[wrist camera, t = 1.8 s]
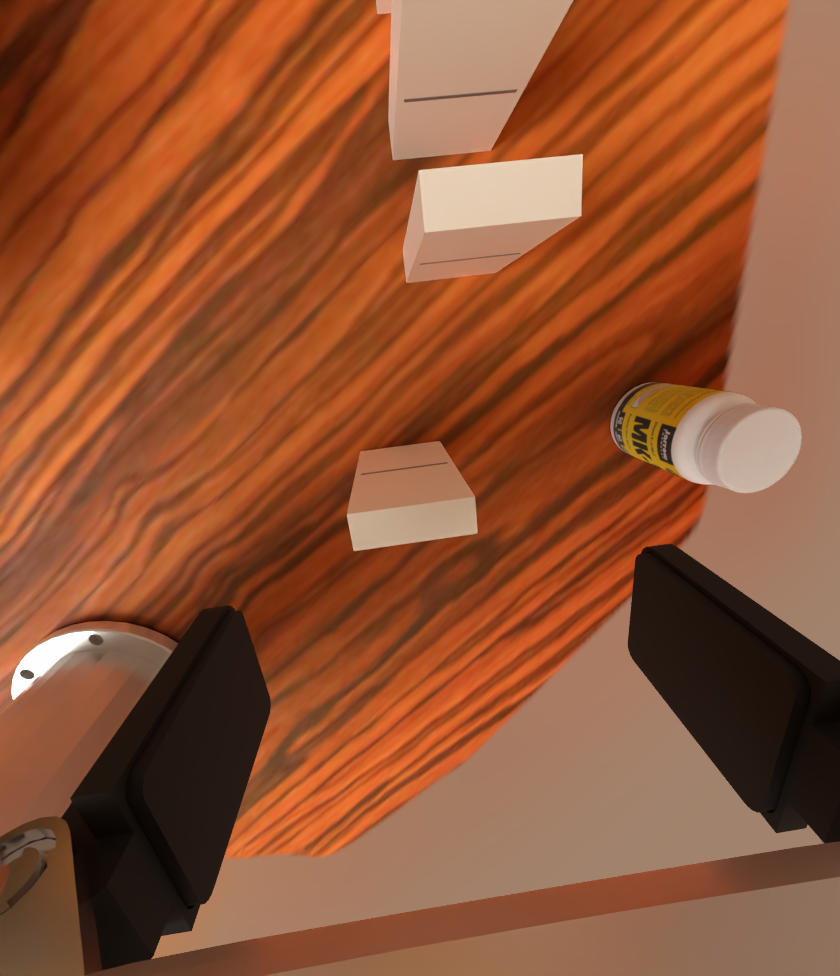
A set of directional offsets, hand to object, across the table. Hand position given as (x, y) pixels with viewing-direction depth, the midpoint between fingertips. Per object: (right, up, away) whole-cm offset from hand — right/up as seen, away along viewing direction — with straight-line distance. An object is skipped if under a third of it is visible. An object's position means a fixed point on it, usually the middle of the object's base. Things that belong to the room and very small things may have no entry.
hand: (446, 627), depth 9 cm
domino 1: (-2, +5, +16) cm, 16 cm away
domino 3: (+1, +16, +12) cm, 20 cm away
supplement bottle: (+14, +8, +16) cm, 23 cm away
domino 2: (0, +21, +10) cm, 23 cm away
